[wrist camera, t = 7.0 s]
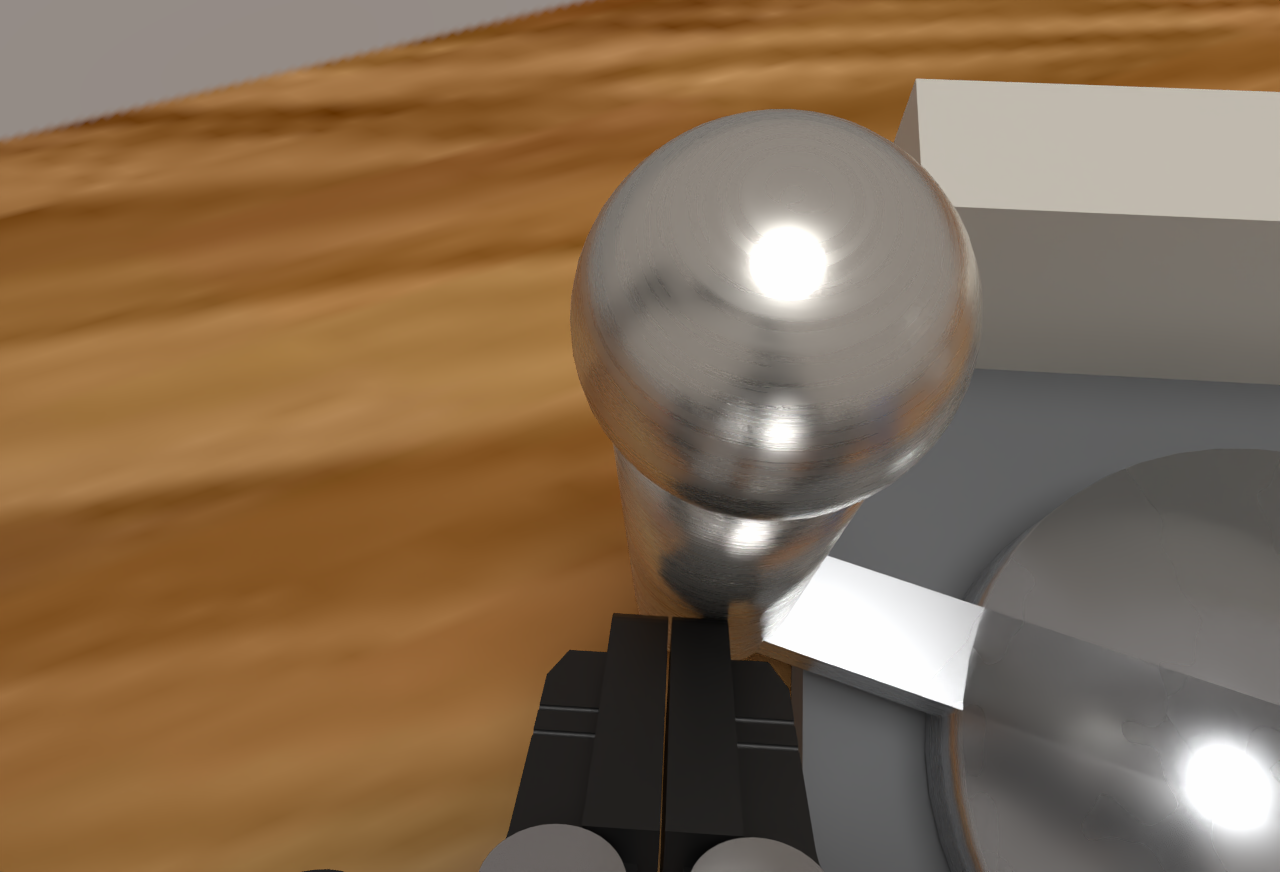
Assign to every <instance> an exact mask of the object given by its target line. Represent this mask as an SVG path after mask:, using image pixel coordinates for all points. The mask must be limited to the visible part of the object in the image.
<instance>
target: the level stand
mask: <svg viewBox="0 0 1280 872" xmlns="http://www.w3.org/2000/svg"><path fill="white" fill-rule="evenodd" d="M894 144H895V145H897V146H898V147H900V148H901V149H902V150H904V151H905V152H906V153H908V154H909V155H911V156H912V157H913V158H914V159H915V160H916V161H917V162H918V163H919V164H920V165H921V166H923V167H924V168H925V169H926V170H927V171H928V173H929V174H930V175H931V176H932V177H933V178H934V180H935V181H936V182H937V183H938V184H939V185H940V187H941V188H942V190H943V191H944V192H945V194H946V195H947V197H948V198H949V200H950V201H951V203H952V204H953V206H954V208H955V209H956V211H957V212H958V214H959V216H960V218H961V220H962V222H963V224H964V226H965V228H966V231H967V233H968V235H969V238H970V242H971V245H972V248H973V251H974V255H975V258H976V261H977V264H978V268H979V273H980V280H981V286H982V302H983V329H982V336H981V342H980V348H979V354H978V358H977V362H976V366H975V369H974V372H973V375H972V378H971V381H970V385H969V388H968V390H967V392H966V394H965V396H964V398H963V400H962V402H961V404H960V406H959V408H958V410H957V412H956V414H955V416H954V417H953V419H952V421H951V423H950V424H949V426H948V427H947V428H946V430H945V431H944V433H943V434H942V435H941V437H940V438H939V440H938V441H937V442H936V444H935V445H934V446H933V447H932V448H931V449H930V450H929V451H928V452H927V453H926V454H925V455H924V456H923V457H922V458H921V459H920V460H919V461H918V462H917V463H916V464H915V465H914V466H913V467H912V468H911V469H910V470H909V471H908V472H907V473H905V474H904V475H903V476H901V477H900V478H899V479H897V480H896V481H895V482H893V483H892V484H891V485H890V486H888V487H886V488H884V489H883V490H881V491H879V492H877V493H876V494H874V495H872V496H870V497H868V498H867V499H865V500H864V501H863V503H862V504H861V506H860V507H859V509H858V510H857V512H856V513H855V515H854V516H853V518H852V519H851V521H850V522H849V524H848V525H847V527H846V528H845V530H844V531H843V533H842V534H841V536H840V537H839V539H838V540H837V542H836V543H835V545H834V546H833V548H832V549H831V551H830V552H829V554H828V555H827V556H830V557H833V558H836V559H839V560H842V561H845V562H848V563H851V564H854V565H857V566H860V567H863V568H866V569H869V570H872V571H875V572H878V573H881V574H884V575H887V576H890V577H893V578H896V579H899V580H902V581H905V582H908V583H911V584H914V585H917V586H920V587H923V588H926V589H929V590H932V591H935V592H938V593H941V594H944V595H947V596H950V597H953V598H957V599H960V600H962V599H963V598H964V596H965V595H966V593H967V592H968V590H969V589H970V587H971V586H972V584H973V583H974V581H975V580H976V578H977V577H978V576H979V575H980V573H981V572H982V571H983V570H984V569H985V568H986V567H987V566H988V565H989V563H990V562H991V561H992V560H993V559H994V558H995V557H996V556H997V555H998V554H999V552H1001V551H1002V550H1003V549H1004V548H1005V547H1007V546H1008V545H1009V544H1010V543H1012V542H1013V541H1014V540H1015V539H1017V538H1018V537H1019V536H1020V535H1021V534H1023V533H1024V532H1025V531H1026V530H1028V529H1029V528H1030V527H1032V526H1033V525H1034V524H1036V523H1037V522H1039V521H1040V520H1041V519H1043V518H1044V517H1045V516H1047V515H1048V514H1049V513H1051V512H1052V511H1053V510H1055V509H1056V508H1057V507H1059V506H1060V505H1061V504H1063V503H1064V502H1065V501H1067V500H1068V499H1069V498H1071V497H1072V496H1074V495H1075V494H1077V493H1079V492H1080V491H1082V490H1084V489H1086V488H1087V487H1089V486H1091V485H1092V484H1094V483H1096V482H1097V481H1099V480H1101V479H1102V478H1104V477H1106V476H1109V475H1111V474H1114V473H1116V472H1119V471H1121V470H1123V469H1126V468H1128V467H1131V466H1133V465H1136V464H1138V463H1141V462H1145V461H1149V460H1153V459H1157V458H1161V457H1165V456H1169V455H1173V454H1177V453H1185V452H1193V451H1202V450H1210V449H1262V450H1270V451H1278V452H1280V92H1261V91H1234V90H1207V89H1180V88H1153V87H1126V86H1099V85H1072V84H1045V83H1018V82H990V81H963V80H936V79H916V80H915V83H914V86H913V89H912V92H911V95H910V98H909V100H908V103H907V106H906V109H905V112H904V115H903V118H902V121H901V123H900V126H899V129H898V132H897V135H896V138H895V141H894ZM791 704H792V710H793V716H794V726H795V728H796V734H797V740H798V752H800V758H801V764H802V770H803V776H804V782H805V788H806V794H807V800H808V806H809V812H810V818H811V824H812V830H813V836H814V842H815V848H816V853H817V857H818V861H819V864H820V866H821V868H822V870H823V871H824V872H950V870H949V867H948V864H947V861H946V858H945V855H944V853H943V850H942V847H941V844H940V841H939V837H938V833H937V828H936V824H935V819H934V815H933V810H932V806H931V801H930V797H929V788H928V778H927V768H926V758H925V733H926V713H925V712H923V711H920V710H917V709H914V708H911V707H908V706H906V705H903V704H900V703H897V702H894V701H891V700H889V699H886V698H883V697H880V696H877V695H874V694H872V693H869V692H866V691H863V690H860V689H858V688H855V687H852V686H849V685H846V684H843V683H841V682H838V681H835V680H832V679H829V678H826V677H824V676H821V675H818V674H815V673H812V672H809V671H807V670H804V669H801V668H798V667H795V666H792V681H791Z"/></svg>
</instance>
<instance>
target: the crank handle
mask: <svg viewBox="0 0 1280 872" xmlns="http://www.w3.org/2000/svg"><path fill="white" fill-rule="evenodd" d="M570 326H571V339H572V349H573V357H574V361H575V365H576V369H577V373H578V377H579V380H580V383H581V386H582V388H583V391H584V393H585V396H586V398H587V401H588V403H589V406H590V408H591V410H592V412H593V414H594V416H595V417H596V419H597V421H598V422H599V424H600V426H601V428H602V429H603V431H604V432H605V434H606V435H607V436H608V437H609V439H610V440H611V441H612V442H613V446H614V453H615V460H616V467H617V473H618V480H619V487H620V494H621V501H622V507H623V514H624V521H625V528H626V535H627V542H628V548H629V555H630V562H631V569H632V576H633V583H634V589H635V596H636V602H637V606H638V610H639V613H640V615H653V616H669V618H668V643H667V650H668V651H669V652H670V641H671V624H672V617H689V618H706V619H718V620H728V626H729V639H730V653H731V660H742V659H745V658H747V657H749V656H751V655H752V654H754V653H759V654H761V655H764V656H767V657H770V658H773V659H775V660H778V661H781V662H784V663H787V664H790V665H792V666H795V667H798V668H801V669H804V670H807V671H809V672H812V673H815V674H818V675H821V676H824V677H826V678H829V679H832V680H835V681H838V682H841V683H843V684H846V685H849V686H852V687H855V688H858V689H860V690H863V691H866V692H869V693H872V694H874V695H877V696H880V697H883V698H886V699H889V700H891V701H894V702H897V703H900V704H903V705H906V706H908V707H911V708H914V709H917V710H920V711H923V712H925V713H926V733H925V758H926V768H927V778H928V788H929V797H930V801H931V806H932V810H933V815H934V819H935V824H936V828H937V833H938V837H939V841H940V844H941V847H942V850H943V853H944V855H945V858H946V861H947V864H948V867H949V870H950V872H1280V452H1278V451H1270V450H1262V449H1210V450H1202V451H1193V452H1185V453H1177V454H1173V455H1169V456H1165V457H1161V458H1157V459H1153V460H1149V461H1145V462H1141V463H1138V464H1136V465H1133V466H1131V467H1128V468H1126V469H1123V470H1121V471H1119V472H1116V473H1114V474H1111V475H1109V476H1106V477H1104V478H1102V479H1101V480H1099V481H1097V482H1096V483H1094V484H1092V485H1091V486H1089V487H1087V488H1086V489H1084V490H1082V491H1080V492H1079V493H1077V494H1075V495H1074V496H1072V497H1071V498H1069V499H1068V500H1067V501H1065V502H1064V503H1063V504H1061V505H1060V506H1059V507H1057V508H1056V509H1055V510H1053V511H1052V512H1051V513H1049V514H1048V515H1047V516H1045V517H1044V518H1043V519H1041V520H1040V521H1039V522H1037V523H1036V524H1034V525H1033V526H1032V527H1030V528H1029V529H1028V530H1026V531H1025V532H1024V533H1023V534H1021V535H1020V536H1019V537H1018V538H1017V539H1015V540H1014V541H1013V542H1012V543H1010V544H1009V545H1008V546H1007V547H1005V548H1004V549H1003V550H1002V551H1001V552H999V554H998V555H997V556H996V557H995V558H994V559H993V560H992V561H991V562H990V563H989V565H988V566H987V567H986V568H985V569H984V570H983V571H982V572H981V573H980V575H979V576H978V577H977V578H976V580H975V581H974V583H973V584H972V586H971V587H970V589H969V590H968V592H967V593H966V595H965V596H964V598H963V599H962V600H960V599H957V598H953V597H950V596H947V595H944V594H941V593H938V592H935V591H932V590H929V589H926V588H923V587H920V586H917V585H914V584H911V583H908V582H905V581H902V580H899V579H896V578H893V577H890V576H887V575H884V574H881V573H878V572H875V571H872V570H869V569H866V568H863V567H860V566H857V565H854V564H851V563H848V562H845V561H842V560H839V559H836V558H833V557H830V556H827V555H828V554H829V552H830V551H831V549H832V548H833V546H834V545H835V543H836V542H837V540H838V539H839V537H840V536H841V534H842V533H843V531H844V530H845V528H846V527H847V525H848V524H849V522H850V521H851V519H852V518H853V516H854V515H855V513H856V512H857V510H858V509H859V507H860V506H861V504H862V503H863V501H864V500H865V499H867V498H868V497H870V496H872V495H874V494H876V493H877V492H879V491H881V490H883V489H884V488H886V487H888V486H890V485H891V484H892V483H893V482H895V481H896V480H897V479H899V478H900V477H901V476H903V475H904V474H905V473H907V472H908V471H909V470H910V469H911V468H912V467H913V466H914V465H915V464H916V463H917V462H918V461H919V460H920V459H921V458H922V457H923V456H924V455H925V454H926V453H927V452H928V451H929V450H930V449H931V448H932V447H933V446H934V445H935V444H936V442H937V441H938V440H939V438H940V437H941V435H942V434H943V433H944V431H945V430H946V428H947V427H948V426H949V424H950V423H951V421H952V419H953V417H954V416H955V414H956V412H957V410H958V408H959V406H960V404H961V402H962V400H963V398H964V396H965V394H966V392H967V390H968V388H969V385H970V381H971V378H972V375H973V372H974V369H975V366H976V362H977V358H978V354H979V348H980V342H981V336H982V329H983V302H982V286H981V280H980V273H979V268H978V264H977V261H976V258H975V255H974V251H973V248H972V245H971V242H970V238H969V235H968V233H967V231H966V228H965V226H964V224H963V222H962V220H961V218H960V216H959V214H958V212H957V211H956V209H955V208H954V206H953V204H952V203H951V201H950V200H949V198H948V197H947V195H946V194H945V192H944V191H943V190H942V188H941V187H940V185H939V184H938V183H937V182H936V181H935V180H934V178H933V177H932V176H931V175H930V174H929V173H928V171H927V170H926V169H925V168H924V167H923V166H921V165H920V164H919V163H918V162H917V161H916V160H915V159H914V158H913V157H912V156H911V155H909V154H908V153H906V152H905V151H904V150H902V149H901V148H900V147H898V146H897V145H895V144H894V143H893V142H891V141H889V140H887V139H886V138H884V137H882V136H880V135H878V134H877V133H875V132H873V131H871V130H869V129H867V128H865V127H863V126H860V125H858V124H856V123H853V122H851V121H848V120H845V119H842V118H838V117H835V116H832V115H827V114H822V113H817V112H812V111H804V110H793V109H769V110H760V111H751V112H744V113H740V114H735V115H731V116H726V117H722V118H719V119H716V120H713V121H710V122H707V123H704V124H702V125H699V126H697V127H695V128H693V129H691V130H689V131H687V132H684V133H683V134H681V135H679V136H678V137H676V138H675V139H673V140H671V141H670V142H668V143H666V144H665V145H663V146H662V147H660V148H659V149H657V150H656V151H655V152H653V153H652V154H651V155H650V156H648V157H647V158H646V159H645V160H643V161H642V162H641V163H639V164H638V166H637V167H636V168H635V169H634V170H633V171H632V172H631V173H630V174H629V175H628V176H627V177H626V178H625V179H624V180H623V181H622V183H621V184H620V185H619V186H618V187H617V188H616V190H615V191H614V192H613V194H612V195H611V196H610V198H609V199H608V201H607V202H606V203H605V205H604V206H603V207H602V209H601V211H600V213H599V215H598V217H597V219H596V220H595V222H594V224H593V226H592V228H591V230H590V232H589V234H588V236H587V239H586V241H585V244H584V247H583V249H582V252H581V255H580V257H579V260H578V265H577V270H576V275H575V280H574V285H573V290H572V295H571V310H570Z"/></svg>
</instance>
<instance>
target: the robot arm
mask: <svg viewBox="0 0 1280 872" xmlns="http://www.w3.org/2000/svg"><path fill="white" fill-rule="evenodd" d="M668 618H669V616H653V615H636V614H620V613H613V617H612V623H611V630H610V637H609V644H608V651H607V652H593V651H577V650H569V651H568V652H567V653H566V654H565V655H564V657H563V658H562V659H561V660H560V661H559V662H558V663H557V664H556V665H555V666H554V667H553V668H552V669H551V671H550V672H549V673H548V674H547V676H546V680H545V684H544V689H543V693H542V697H541V701H540V708H539V710H538V713H537V717H536V721H535V725H534V732H533V735H532V738H531V742H530V746H529V750H528V754H527V758H526V762H525V766H524V770H523V774H522V778H521V783H520V787H519V791H518V795H517V799H516V803H515V807H514V811H513V815H512V819H511V823H510V827H509V831H508V834H507V837H506V839H505V840H504V841H502V842H501V843H500V844H498V845H497V846H496V847H495V848H494V849H493V850H492V851H491V852H490V853H489V855H488V856H487V858H486V859H485V860H484V862H483V864H482V866H481V868H480V870H479V872H657V871H658V853H659V836H660V814H661V789H662V765H663V741H664V716H665V692H666V668H667V643H668ZM304 872H343V871H338V870H329V869H324V870H310V871H304ZM660 872H824V871H823V870H822V868H821V866H820V864H819V861H818V857H817V853H816V848H815V842H814V836H813V830H812V824H811V818H810V812H809V806H808V800H807V794H806V788H805V782H804V776H803V770H802V764H801V758H800V752H798V740H797V734H796V728H795V726H794V716H793V710H792V704H791V698H790V692H789V689H788V687H787V686H786V685H785V683H784V682H783V681H782V679H781V678H780V677H779V676H778V674H777V673H776V672H775V670H774V669H773V668H772V666H771V665H770V664H769V663H768V662H760V661H743V660H731V653H730V639H729V626H728V620H718V619H706V618H689V617H672V624H671V641H670V658H669V676H668V693H667V711H666V729H665V750H664V774H663V801H662V827H661V854H660Z"/></svg>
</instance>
